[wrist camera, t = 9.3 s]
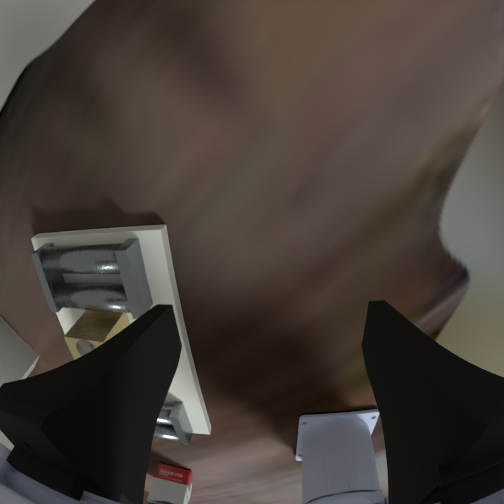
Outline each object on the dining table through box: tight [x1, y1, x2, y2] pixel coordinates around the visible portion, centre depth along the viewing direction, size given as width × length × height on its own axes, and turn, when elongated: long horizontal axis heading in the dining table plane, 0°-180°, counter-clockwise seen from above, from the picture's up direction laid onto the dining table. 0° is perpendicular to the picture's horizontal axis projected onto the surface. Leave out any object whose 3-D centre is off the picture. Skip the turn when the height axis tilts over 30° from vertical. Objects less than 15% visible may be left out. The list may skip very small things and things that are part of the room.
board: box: [31, 224, 211, 434], centre depth 24 cm, size 22×12×1 cm, turn 4°
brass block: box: [64, 310, 130, 360], centre depth 22 cm, size 9×4×4 cm, turn 4°
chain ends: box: [31, 238, 193, 445], centre depth 23 cm, size 21×9×2 cm, turn 4°
